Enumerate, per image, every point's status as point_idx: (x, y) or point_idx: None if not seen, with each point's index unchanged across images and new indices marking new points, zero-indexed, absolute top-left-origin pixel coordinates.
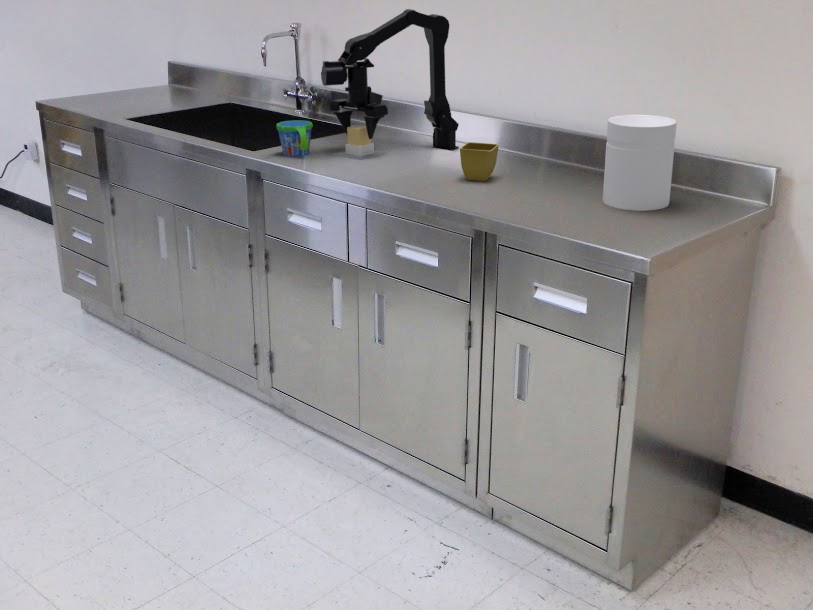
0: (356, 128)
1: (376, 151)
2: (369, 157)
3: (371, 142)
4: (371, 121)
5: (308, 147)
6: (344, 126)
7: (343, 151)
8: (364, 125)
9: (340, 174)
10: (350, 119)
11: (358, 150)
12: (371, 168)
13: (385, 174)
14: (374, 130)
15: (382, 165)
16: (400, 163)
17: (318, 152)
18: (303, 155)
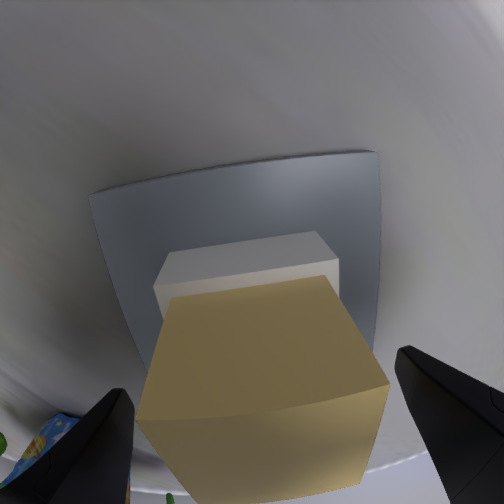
0: (317, 491)
1: (285, 182)
2: (373, 318)
3: (326, 278)
4: (498, 473)
5: (172, 497)
6: (125, 485)
7: (135, 338)
8: (251, 413)
9: (395, 445)
10: (59, 487)
11: None
12: (443, 361)
13: (500, 355)
14: (465, 379)
15: (457, 308)
16: (494, 227)
17: (41, 363)
18: None
